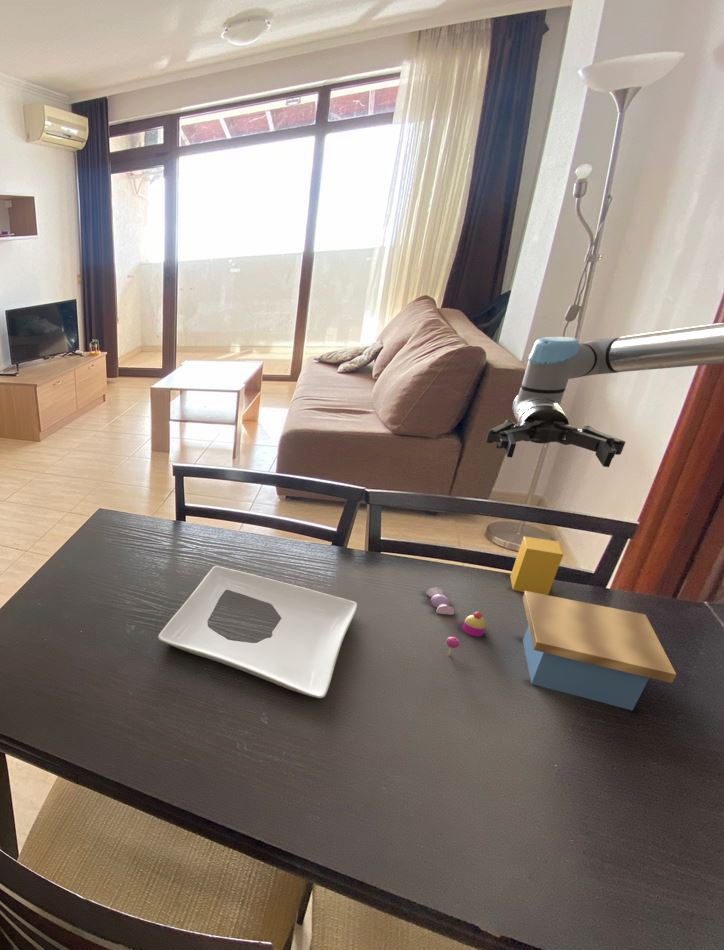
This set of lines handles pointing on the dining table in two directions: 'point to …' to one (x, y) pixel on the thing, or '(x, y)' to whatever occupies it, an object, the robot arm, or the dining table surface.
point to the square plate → (294, 638)
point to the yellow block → (536, 565)
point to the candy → (472, 623)
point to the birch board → (596, 635)
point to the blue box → (583, 678)
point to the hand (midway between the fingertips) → (558, 455)
